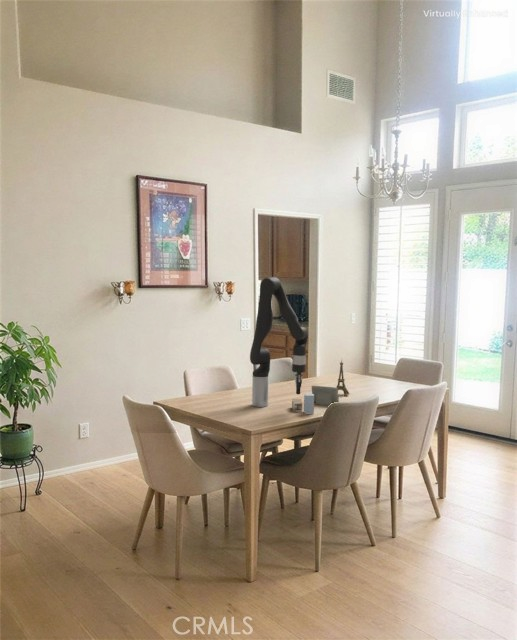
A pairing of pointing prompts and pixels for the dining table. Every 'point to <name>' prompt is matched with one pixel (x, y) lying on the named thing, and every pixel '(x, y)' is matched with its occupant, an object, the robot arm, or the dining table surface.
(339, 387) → the eiffel tower
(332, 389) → the digital clock
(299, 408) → the walnut block
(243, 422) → the dining table surface
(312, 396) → the slate-blue block
